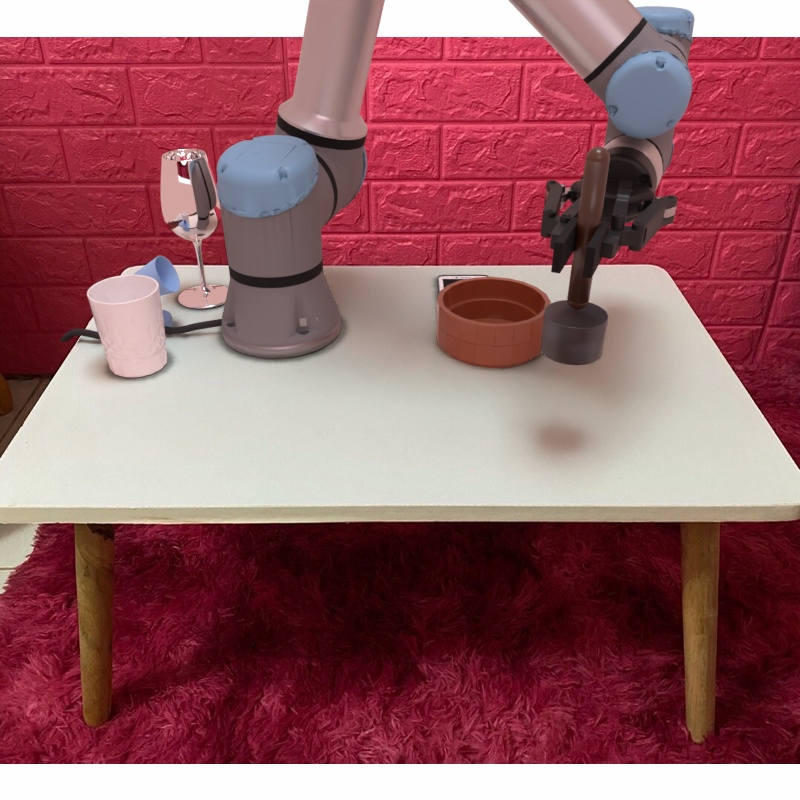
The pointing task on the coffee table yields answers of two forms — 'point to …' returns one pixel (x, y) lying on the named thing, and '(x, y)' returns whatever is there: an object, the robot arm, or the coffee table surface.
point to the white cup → (130, 324)
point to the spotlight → (162, 280)
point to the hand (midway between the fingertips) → (573, 260)
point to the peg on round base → (580, 281)
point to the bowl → (490, 321)
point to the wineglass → (192, 214)
